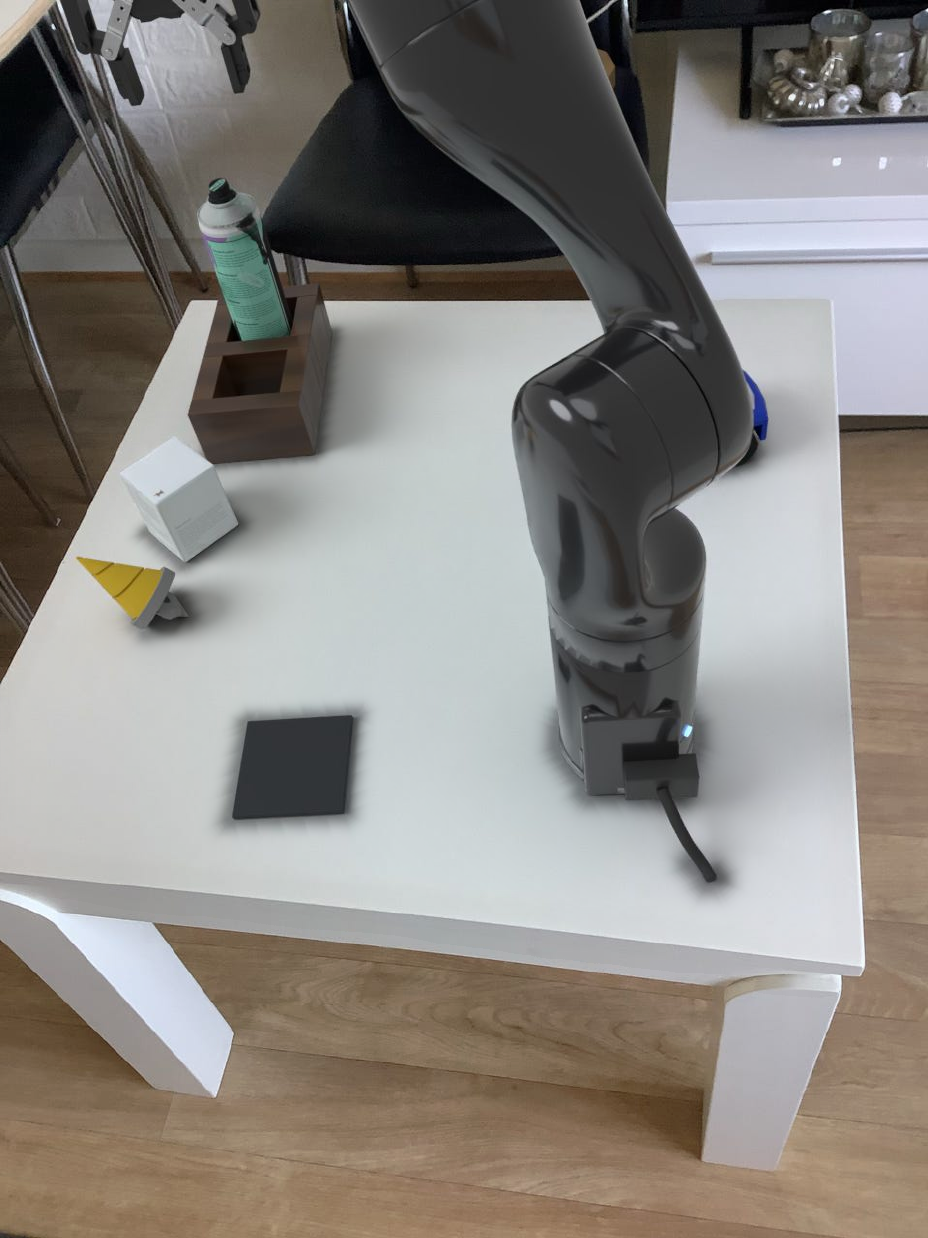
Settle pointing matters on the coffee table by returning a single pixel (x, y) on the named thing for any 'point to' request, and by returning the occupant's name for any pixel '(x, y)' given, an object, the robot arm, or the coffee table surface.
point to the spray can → (244, 263)
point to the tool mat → (294, 767)
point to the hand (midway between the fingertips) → (189, 95)
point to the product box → (180, 498)
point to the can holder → (263, 385)
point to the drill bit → (137, 589)
